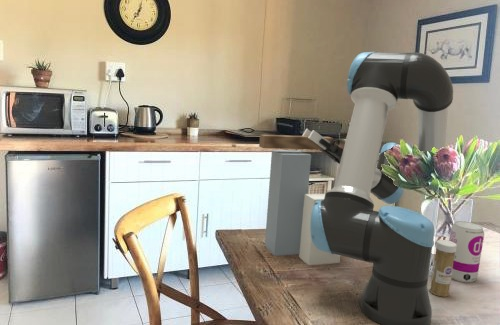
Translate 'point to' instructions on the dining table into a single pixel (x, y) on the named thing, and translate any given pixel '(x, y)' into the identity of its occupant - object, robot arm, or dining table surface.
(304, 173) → the step stand
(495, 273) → the dining table surface
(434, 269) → the sprinkles bottle
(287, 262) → the dining table surface
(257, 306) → the dining table surface
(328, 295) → the dining table surface
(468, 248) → the supplement can
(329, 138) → the walnut bar
